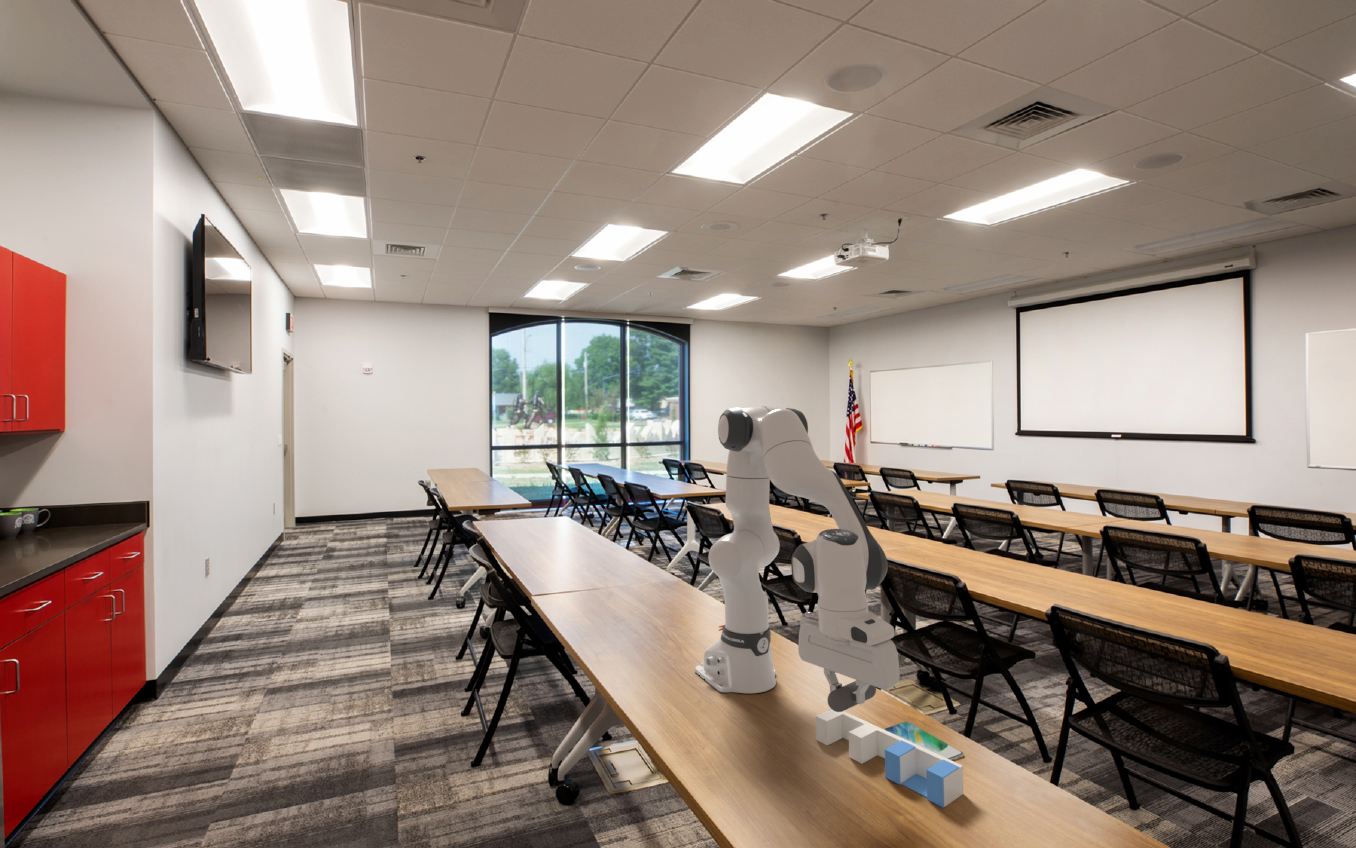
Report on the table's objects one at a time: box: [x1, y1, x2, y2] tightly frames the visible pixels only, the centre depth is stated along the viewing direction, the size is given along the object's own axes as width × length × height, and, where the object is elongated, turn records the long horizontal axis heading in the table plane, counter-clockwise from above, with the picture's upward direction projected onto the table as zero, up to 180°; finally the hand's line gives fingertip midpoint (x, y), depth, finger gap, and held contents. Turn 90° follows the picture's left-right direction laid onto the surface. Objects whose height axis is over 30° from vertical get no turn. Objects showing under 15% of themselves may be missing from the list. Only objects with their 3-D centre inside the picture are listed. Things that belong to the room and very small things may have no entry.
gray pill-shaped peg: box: [827, 680, 877, 712], centre depth 112 cm, size 4×12×4 cm, turn 126°
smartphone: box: [883, 721, 965, 761], centre depth 126 cm, size 7×1×15 cm
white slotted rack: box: [815, 708, 964, 809], centre depth 118 cm, size 28×6×5 cm, turn 36°
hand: (847, 698), depth 111 cm, fingers closed on gray pill-shaped peg, 4 cm apart
